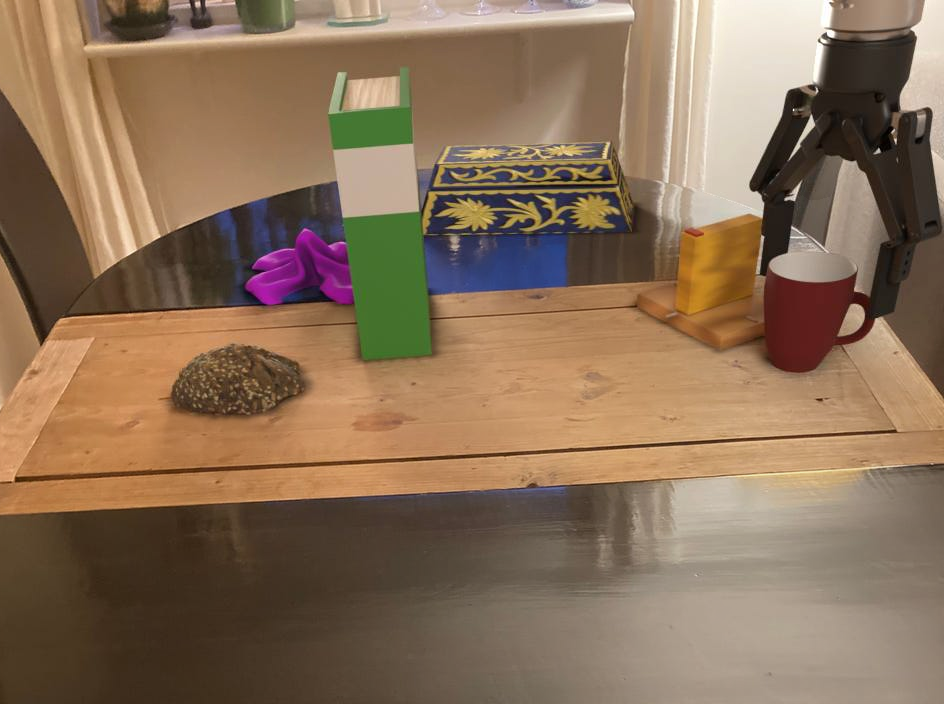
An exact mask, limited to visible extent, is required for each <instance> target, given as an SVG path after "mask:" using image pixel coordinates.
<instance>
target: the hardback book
mask: <svg viewBox="0 0 944 704" xmlns="http://www.w3.org/2000/svg"><path fill="white" fill-rule="evenodd" d="M411 89H412V87H411V77H410V67H409V66H400V67H399V75H398V76H397V75H395V76H385V77H371V78H359V79H348V72H347V71H339V72H337V74H336V78H335V83H334V87H333V92H332V95H331V100H330V104H329V108H328V112H327V117H328V123H329V131H330V138H331V144H332V146H331V147H332V152H333V159H334V166H335V175H336V181H337V188H338V195H339V202H340V209H341V216H342V222H343V229H344V237H345V243H346V245H347V252H348V260H349V267H350V274H351V281H352V288H353V295H354V302H353V303H354V309H355V316H356V322H357V323H356V324H357V329H358V331H357V332H358V335H359V336H358V338H359V344H360V351H361V358H362V361H369V360H381V359H393V358H394V359H395V358H405V357H418V356H419V357H420V356H431V355H433V349H432V333H431V332H432V330H431V314H430V296H429V283H428V272H427V271H428V270H427V260H426V248H425V237H424V236H425V235H423V224H422V213H421V211H422V204H421V191H420V180H419V170H418V169H419V168H418V158H417V157H418V156H417V145H416V144H417V143H416V135H415V134H416V133H415V125H414V124H415V123H414V111H413V101H412V90H411Z"/></svg>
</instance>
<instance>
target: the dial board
mask: <svg viewBox="0 0 944 704" xmlns="http://www.w3.org/2000/svg"><path fill="white" fill-rule="evenodd" d="M762 288H763V286H762V285H758V286H754V291H757V290H760V289H762ZM676 291H677V281H675V282H672V283H668V284H664V285H662V286H658V287H656V288H652V289H649V290H645V291H642V292H638V293H637V300H636V308H638V309H640V310H641V311H644V313H647V314H649V315H651V316H653V317H655V318H657V319H659V320H660V321H662V322H665V323H666V324H668V325H670V326H672V327H674V328H676V329H678V330H680V331H681V332H684V333H685V334H688V335H690V336H692V337H693V338H695V339H697V340H699V341H702V342H703V343H704V344H707V345H709V346H710V347H712V348H714V349H716V350H718V351H722V350H725V349H728V348H731V347H734V346H738V345H740V344H743V343H746V342H749V341H752V340H755V339H758V338H761V337H765V334H764V296H762V295H759V294H757V293H754V292H753V295H750V296H747V297H744V298H741V299H738V300H735V301H731V302H728V303H725V304H722V305H719V306H716V307H712V308H709V309H706V310H703V311H700V312H696V313H693V314H690V315H687V314H685V313H683V312H681V311H679V310H677V309H675V303H676Z"/></svg>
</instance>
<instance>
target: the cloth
mask: <svg viewBox="0 0 944 704" xmlns="http://www.w3.org/2000/svg"><path fill="white" fill-rule="evenodd" d="M251 269H252V270H259V271H264V272H261V273H259V274H255V275H254V276H253V277H251V278H250V279H249V280H248V281H246V284H245V287H244V289H245V290H246V291H247V292H249V293H250V294H252V295H253V296H254V297H255V298H257V299H258V300H259V301H260V302H261V303H262V304H265V305H267V306H274V305H278V304H283V302H282V299H283V298H285V297H286V296H289V295H291V294H293V293H295V292H298V291H301V290H303V289H305V288H309V287H311V286H317V287H318V288H319V292H320V293H323V294H324V296H326V297H327V298H328V299H330V300H332V301H335V302H336V303H337V304H339V305H352V304H353V303H355V302H354V295H353V288H352V281H351V274H350V267H349V260H348V252H347V245H346V242H344V241H339V242H334V243H332V244H330V245H328V243H326V242H325V241H324V240H323V239H322V238H320V237H319V236H317V234H315V233H314V232H313V231H312V230H309V229H307V228H304V229H303V230H302V231H300V233H299V234H298V236H297V237H296V239H295V247H294V248H283V249H279V250H276V251H273V252H271V253H268V254H266V255H264V256H262V257H260V258H259V259H257V261H256V262H255V263H254V265H253V266H252V268H251Z"/></svg>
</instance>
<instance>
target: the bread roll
mask: <svg viewBox="0 0 944 704" xmlns="http://www.w3.org/2000/svg"><path fill="white" fill-rule="evenodd" d="M299 367H300V363H299V362H298V361H297V360H292V359H291V358H289V357H286V356H283V355H281V354H277V353H275V352H274V351H271V350H266V349H265V348H264V347H259V346H258V345H245V344H243V343H241V344H238V343H235V342H231V343H228V344H227V345H223V346H221V347H216V348H213V349H211V350H209V351H207V352H201V353H200V354H198V355H196V356H195V357H192V359H191V360H190V361H188V363H187V365H186V366H183V367H181V370H179V372H178V378H177V379H175V381H174V382H173V384H172V386H171V387H172V388H171V394H170V397H171V401H172V402H173V403H174V405H176V407H178V408H181V409H183V410H187V411H189V412H190V413H199V414H207V415H211V416H227V415H233V416H250V415H256V414H257V415H258V414H262V413H266V412H269V411H271V410H273V409H274V408H275V407H276V406H277V405H278V404H280V403H281V402H282V401H283V400H284V399H286V398H288V397H294V396H295V397H296V396H298V395H299V394H301V393H302V392H304V391H305V388H306V382H305V380H304V379H303V378H302V376H300V375H299V374H300V368H299Z"/></svg>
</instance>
